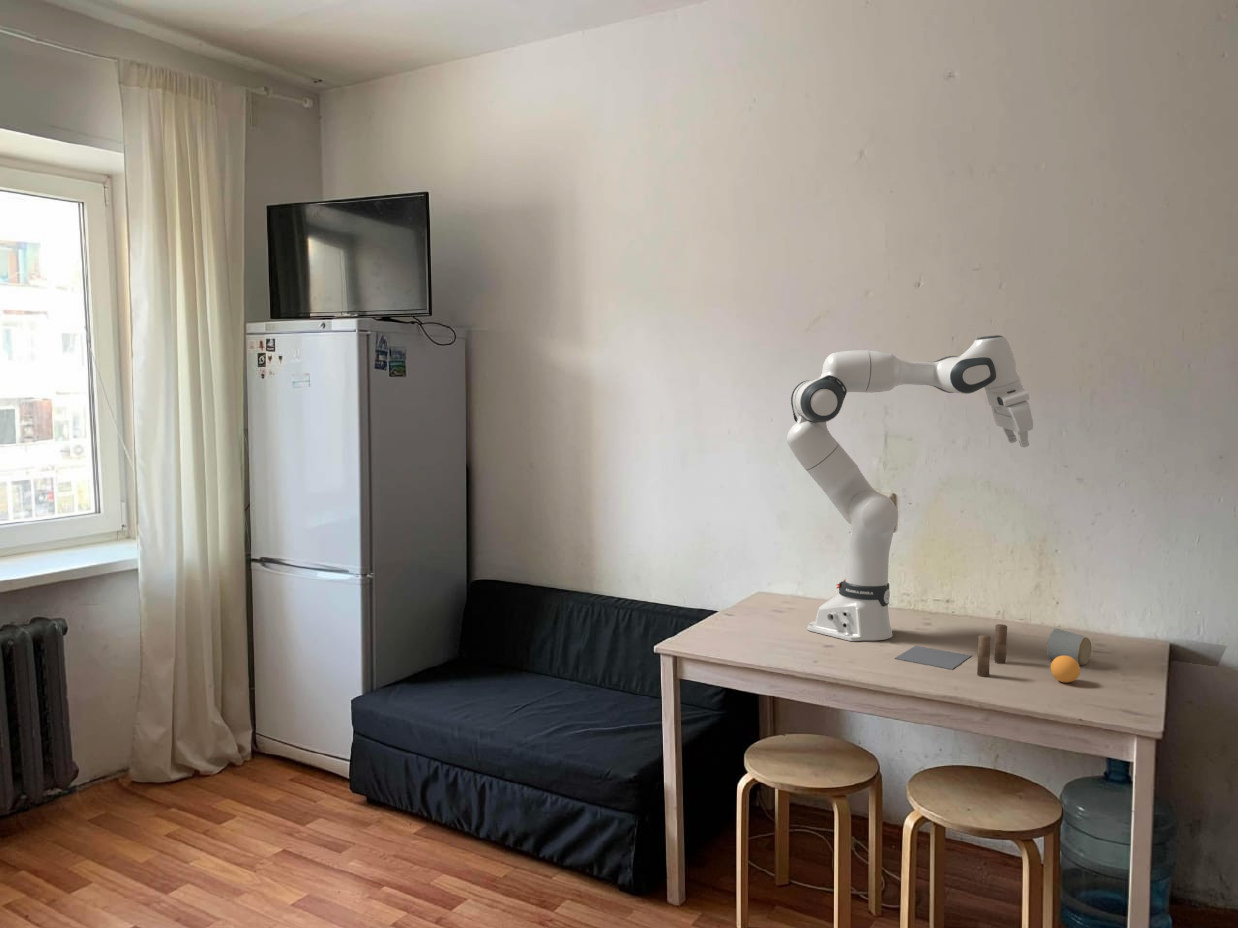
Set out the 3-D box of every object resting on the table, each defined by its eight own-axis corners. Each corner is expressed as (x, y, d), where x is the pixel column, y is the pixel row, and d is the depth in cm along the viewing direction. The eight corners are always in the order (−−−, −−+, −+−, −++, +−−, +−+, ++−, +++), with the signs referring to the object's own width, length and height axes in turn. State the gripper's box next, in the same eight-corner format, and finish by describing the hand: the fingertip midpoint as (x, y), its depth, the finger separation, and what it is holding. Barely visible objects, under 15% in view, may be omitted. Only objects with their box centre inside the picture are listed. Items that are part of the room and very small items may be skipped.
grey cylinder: (1080, 669, 220) (1082, 637, 219) (1045, 662, 225) (1047, 630, 225) (1097, 661, 227) (1098, 630, 226) (1062, 654, 233) (1063, 624, 232)
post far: (992, 662, 225) (994, 625, 224) (996, 659, 227) (997, 623, 226) (1003, 664, 223) (1005, 627, 223) (1007, 661, 225) (1008, 625, 225)
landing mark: (894, 658, 228) (894, 657, 228) (915, 646, 238) (915, 645, 238) (952, 669, 219) (952, 668, 219) (971, 656, 230) (971, 655, 230)
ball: (1047, 682, 210) (1048, 656, 209) (1053, 675, 214) (1054, 650, 214) (1076, 687, 206) (1077, 661, 205) (1082, 681, 211) (1083, 655, 210)
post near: (975, 675, 215) (977, 637, 214) (979, 672, 217) (980, 634, 216) (987, 677, 213) (988, 639, 212) (990, 674, 215) (992, 636, 214)
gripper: (981, 395, 254) (994, 443, 256) (1005, 400, 234) (1019, 452, 236) (1004, 388, 254) (1017, 436, 255) (1030, 393, 233) (1044, 445, 235)
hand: (1018, 444), depth 245 cm, fingers open, 8 cm apart
